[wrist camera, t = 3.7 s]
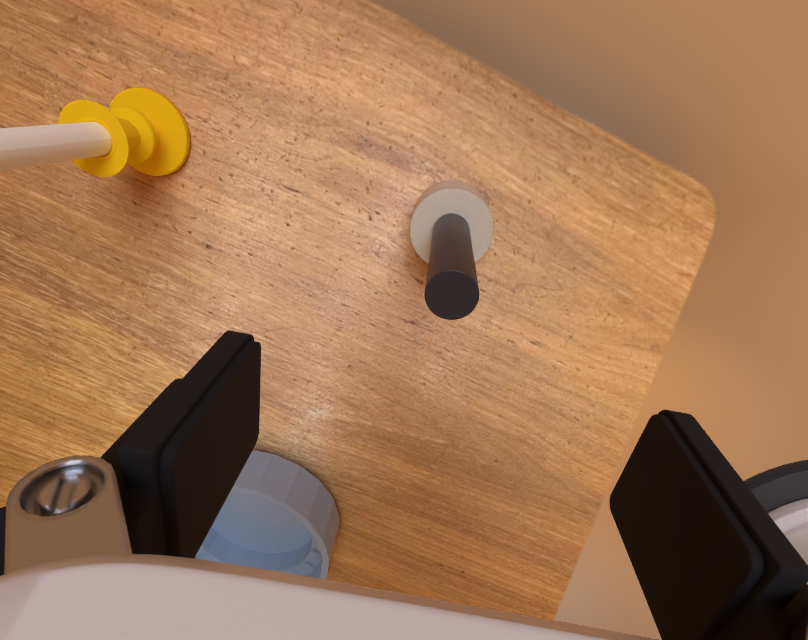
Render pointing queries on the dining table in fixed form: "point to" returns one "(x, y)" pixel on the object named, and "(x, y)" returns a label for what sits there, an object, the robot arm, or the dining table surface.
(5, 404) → the dining table surface
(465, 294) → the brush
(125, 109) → the candle
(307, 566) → the bowl
